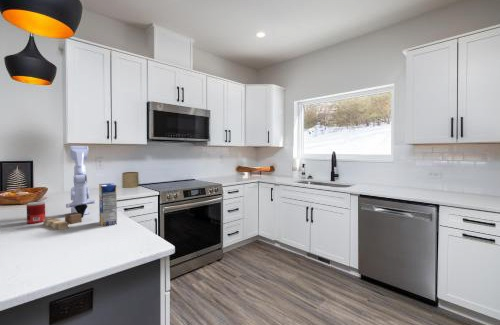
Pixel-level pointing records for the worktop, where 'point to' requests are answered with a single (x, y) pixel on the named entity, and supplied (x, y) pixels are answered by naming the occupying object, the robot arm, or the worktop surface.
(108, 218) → the beverage box
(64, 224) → the tan faceted bar
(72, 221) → the walnut block
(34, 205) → the canned food
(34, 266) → the worktop surface
